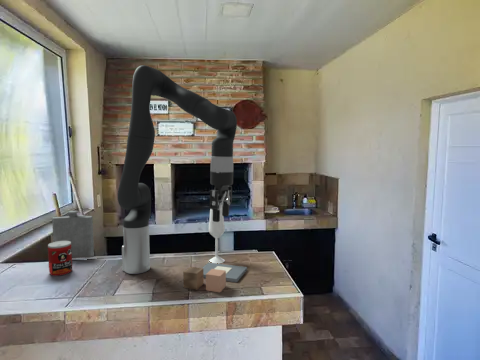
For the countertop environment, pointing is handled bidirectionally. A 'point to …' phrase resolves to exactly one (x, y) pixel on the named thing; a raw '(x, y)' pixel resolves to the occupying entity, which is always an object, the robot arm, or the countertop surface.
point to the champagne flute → (216, 234)
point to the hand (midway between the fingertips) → (221, 218)
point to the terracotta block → (215, 280)
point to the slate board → (231, 271)
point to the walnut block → (193, 278)
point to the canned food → (60, 257)
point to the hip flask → (75, 233)
